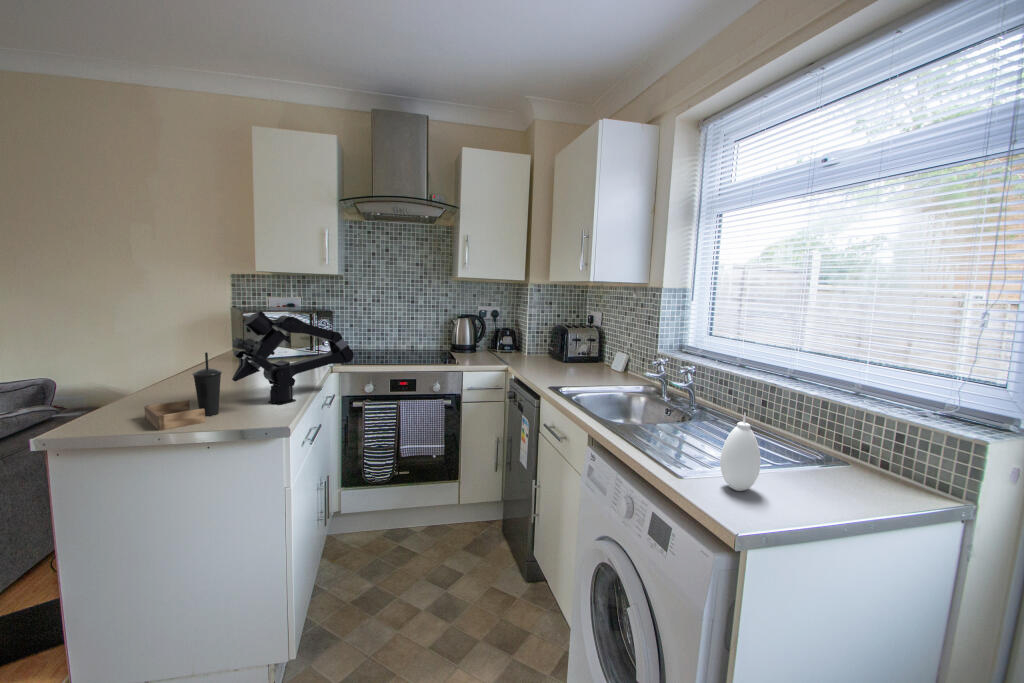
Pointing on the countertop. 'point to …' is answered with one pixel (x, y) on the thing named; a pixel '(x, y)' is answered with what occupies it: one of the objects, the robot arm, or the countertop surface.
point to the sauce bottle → (740, 457)
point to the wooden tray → (173, 415)
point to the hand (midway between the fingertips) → (233, 380)
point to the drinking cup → (208, 388)
